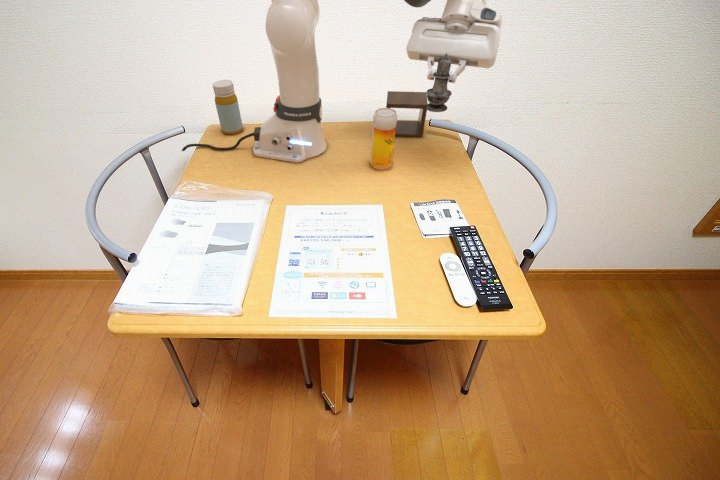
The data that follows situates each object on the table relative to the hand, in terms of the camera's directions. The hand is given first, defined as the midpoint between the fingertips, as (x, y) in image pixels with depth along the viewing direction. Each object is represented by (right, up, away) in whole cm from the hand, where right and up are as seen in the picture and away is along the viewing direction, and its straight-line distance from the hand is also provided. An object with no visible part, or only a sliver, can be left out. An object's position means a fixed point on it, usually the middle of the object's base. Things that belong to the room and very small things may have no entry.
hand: (440, 80), depth 84 cm
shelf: (-1, +1, +34) cm, 34 cm away
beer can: (-11, -15, +19) cm, 26 cm away
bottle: (-57, +2, +38) cm, 69 cm away
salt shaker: (0, -4, +5) cm, 7 cm away
